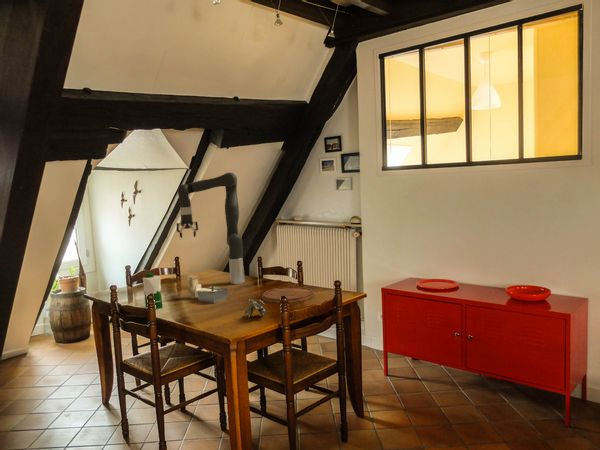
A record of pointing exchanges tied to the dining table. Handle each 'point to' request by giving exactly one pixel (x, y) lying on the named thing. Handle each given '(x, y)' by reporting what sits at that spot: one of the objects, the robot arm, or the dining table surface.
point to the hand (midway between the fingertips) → (188, 237)
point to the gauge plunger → (198, 287)
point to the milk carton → (153, 288)
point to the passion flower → (255, 307)
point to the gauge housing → (213, 295)
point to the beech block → (192, 285)
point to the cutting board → (288, 294)
